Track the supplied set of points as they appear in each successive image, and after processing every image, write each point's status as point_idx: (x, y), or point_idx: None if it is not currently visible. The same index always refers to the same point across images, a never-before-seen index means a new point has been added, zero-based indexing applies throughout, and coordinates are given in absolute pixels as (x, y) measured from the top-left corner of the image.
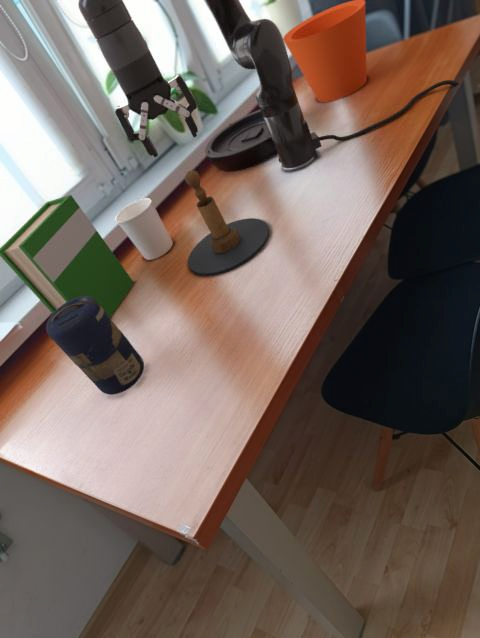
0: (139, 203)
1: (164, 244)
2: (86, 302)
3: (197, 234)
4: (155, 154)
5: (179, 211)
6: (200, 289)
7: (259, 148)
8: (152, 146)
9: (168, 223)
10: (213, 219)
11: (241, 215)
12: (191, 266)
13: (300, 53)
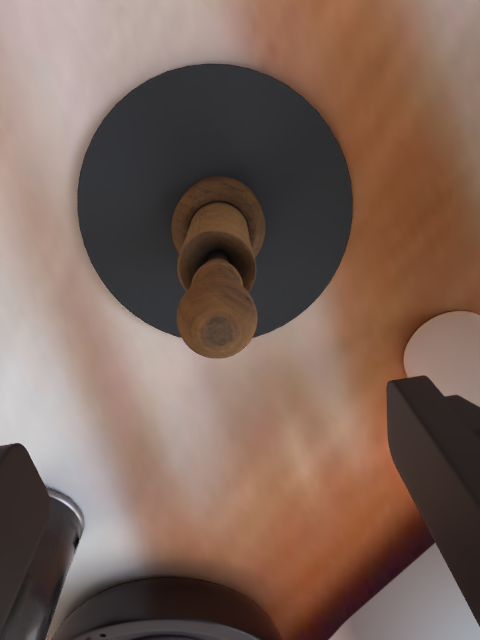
0: None
1: (428, 336)
2: None
3: (325, 359)
4: (406, 385)
5: (379, 503)
6: (309, 11)
7: (132, 609)
8: (429, 451)
9: None
10: (208, 217)
11: (188, 372)
12: (340, 167)
13: None
